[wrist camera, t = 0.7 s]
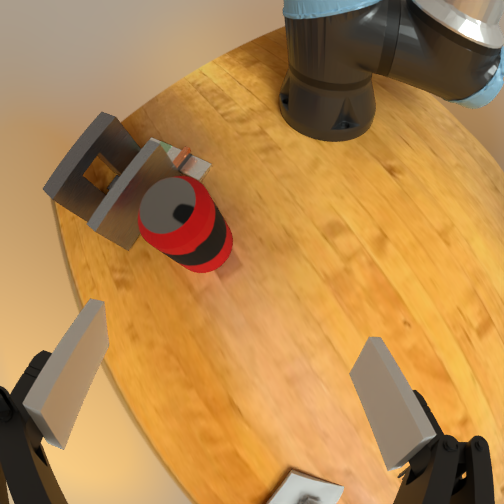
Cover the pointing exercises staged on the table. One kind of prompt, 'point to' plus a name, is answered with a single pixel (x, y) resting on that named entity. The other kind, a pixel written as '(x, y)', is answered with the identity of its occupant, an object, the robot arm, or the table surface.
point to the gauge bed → (113, 155)
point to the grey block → (133, 193)
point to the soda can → (185, 224)
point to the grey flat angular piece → (305, 490)
